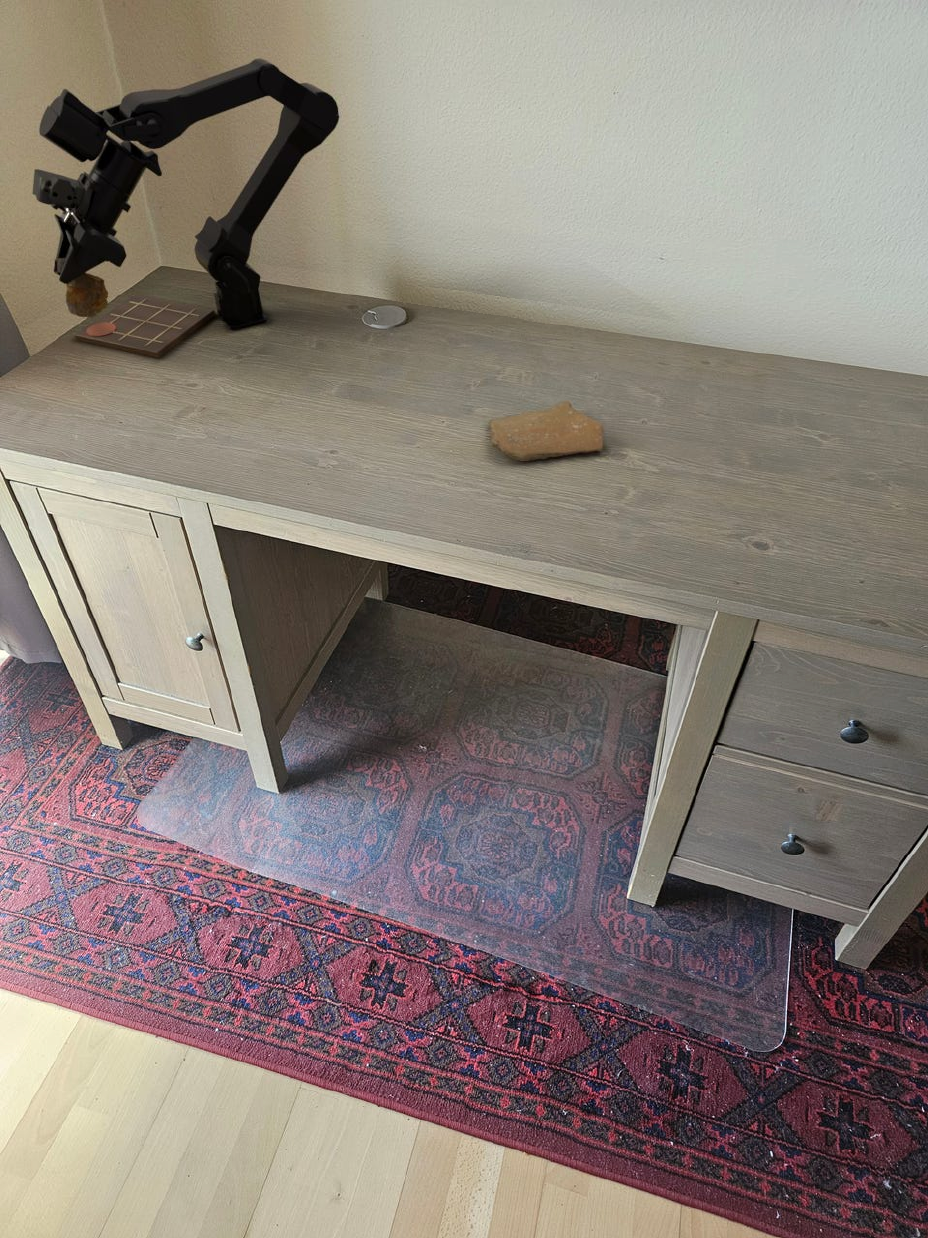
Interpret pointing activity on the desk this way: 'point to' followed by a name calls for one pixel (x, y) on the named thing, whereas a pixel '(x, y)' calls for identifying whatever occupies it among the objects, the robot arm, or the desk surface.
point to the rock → (84, 293)
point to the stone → (546, 433)
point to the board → (145, 325)
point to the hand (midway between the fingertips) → (59, 277)
